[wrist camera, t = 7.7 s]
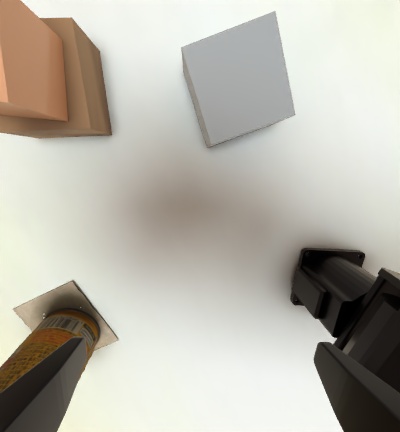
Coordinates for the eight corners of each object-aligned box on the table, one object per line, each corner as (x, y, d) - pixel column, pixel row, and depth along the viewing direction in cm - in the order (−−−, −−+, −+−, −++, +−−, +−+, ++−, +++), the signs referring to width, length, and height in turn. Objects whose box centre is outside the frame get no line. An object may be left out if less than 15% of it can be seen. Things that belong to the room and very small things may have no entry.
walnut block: (100, 52, 16) (71, 17, 12) (112, 135, 17) (90, 128, 14) (20, 54, 16) (-35, 20, 12) (40, 138, 17) (-3, 132, 13)
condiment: (64, 363, 23) (-60, 562, 12) (14, 308, 21) (-198, 486, 10) (119, 338, 23) (46, 522, 11) (73, 279, 21) (-75, 432, 9)
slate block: (254, 46, 16) (275, 11, 12) (272, 124, 18) (295, 114, 14) (183, 73, 16) (181, 47, 13) (207, 147, 18) (211, 145, 14)
